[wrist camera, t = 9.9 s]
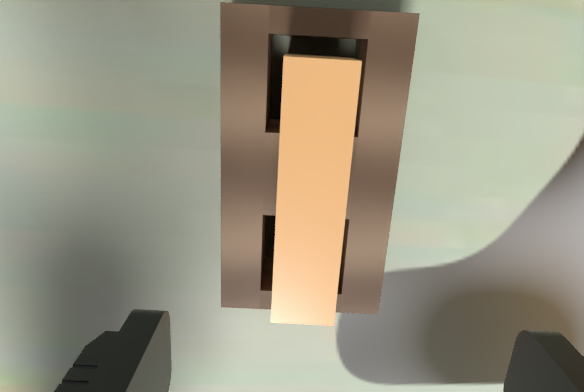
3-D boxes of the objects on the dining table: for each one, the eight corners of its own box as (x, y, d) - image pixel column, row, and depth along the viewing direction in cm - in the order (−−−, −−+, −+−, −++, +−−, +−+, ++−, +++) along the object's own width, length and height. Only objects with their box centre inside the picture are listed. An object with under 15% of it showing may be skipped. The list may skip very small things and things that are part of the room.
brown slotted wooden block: (366, 278, 29) (377, 314, 25) (230, 272, 29) (221, 307, 25) (399, 17, 24) (419, 13, 20) (232, 8, 23) (220, 2, 20)
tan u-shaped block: (286, 51, 24) (283, 56, 17) (340, 54, 24) (362, 61, 17) (276, 247, 28) (270, 322, 21) (322, 249, 28) (334, 325, 21)
